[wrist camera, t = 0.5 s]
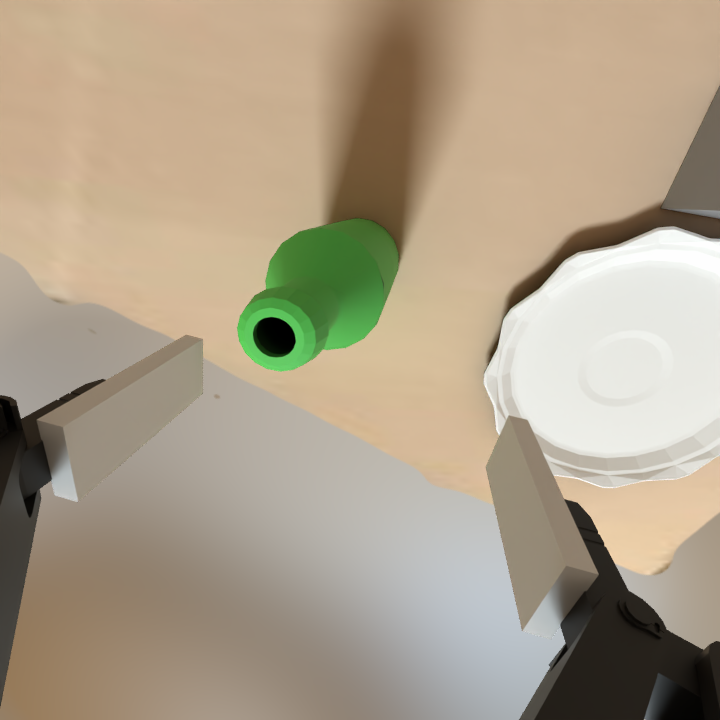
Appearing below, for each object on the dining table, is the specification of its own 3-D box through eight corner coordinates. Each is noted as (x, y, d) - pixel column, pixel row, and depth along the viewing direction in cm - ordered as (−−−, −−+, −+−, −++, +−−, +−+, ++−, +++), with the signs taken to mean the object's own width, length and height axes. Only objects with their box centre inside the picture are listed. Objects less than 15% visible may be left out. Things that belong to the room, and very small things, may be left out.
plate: (864, 261, 33) (895, 266, 31) (687, 497, 45) (700, 512, 43) (538, 202, 35) (545, 202, 33) (454, 441, 48) (456, 453, 46)
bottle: (393, 210, 37) (343, 226, 15) (405, 292, 41) (379, 408, 18) (313, 226, 39) (161, 262, 17) (330, 303, 43) (222, 421, 20)
